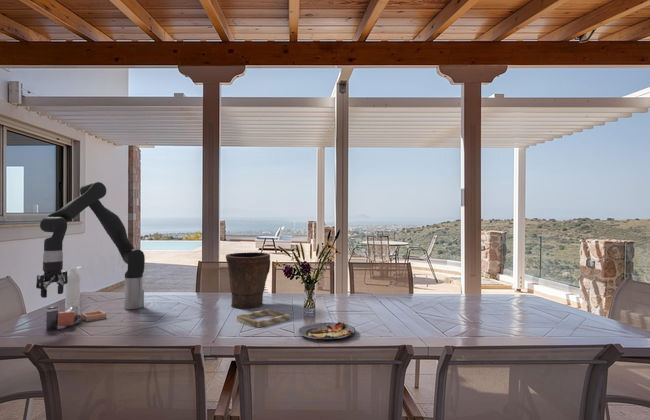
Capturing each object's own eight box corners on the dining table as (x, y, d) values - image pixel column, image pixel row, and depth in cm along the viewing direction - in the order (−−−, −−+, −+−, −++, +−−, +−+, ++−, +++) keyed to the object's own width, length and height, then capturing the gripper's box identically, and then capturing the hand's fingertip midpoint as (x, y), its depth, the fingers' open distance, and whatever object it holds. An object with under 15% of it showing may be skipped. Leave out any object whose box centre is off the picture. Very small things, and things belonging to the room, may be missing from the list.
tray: (100, 315, 204) (100, 310, 204) (106, 318, 197) (106, 313, 197) (80, 318, 197) (80, 313, 197) (86, 321, 191) (86, 316, 191)
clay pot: (282, 302, 234) (282, 252, 234) (248, 312, 209) (248, 256, 210) (251, 297, 247) (251, 250, 248) (216, 306, 223) (216, 254, 223)
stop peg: (56, 327, 181) (56, 305, 181) (59, 329, 178) (59, 307, 178) (45, 329, 178) (45, 307, 178) (47, 331, 175) (47, 308, 175)
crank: (66, 319, 190) (66, 307, 190) (80, 318, 192) (80, 306, 192) (58, 326, 179) (58, 313, 179) (73, 324, 181) (73, 312, 181)
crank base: (79, 319, 195) (79, 317, 195) (84, 322, 189) (84, 320, 189) (58, 322, 189) (58, 320, 189) (63, 326, 183) (63, 324, 183)
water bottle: (73, 317, 199) (73, 268, 199) (61, 317, 200) (62, 268, 200) (85, 313, 207) (86, 266, 208) (74, 312, 208) (75, 266, 209)
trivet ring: (268, 313, 208) (268, 308, 208) (290, 319, 196) (290, 314, 196) (235, 320, 193) (235, 315, 193) (257, 327, 180) (257, 322, 180)
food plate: (352, 326, 183) (352, 318, 183) (358, 342, 160) (358, 334, 160) (299, 328, 182) (299, 320, 182) (297, 344, 159) (297, 336, 159)
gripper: (59, 258, 186) (58, 292, 186) (31, 261, 172) (31, 298, 172) (72, 259, 185) (72, 293, 185) (46, 262, 171) (45, 299, 171)
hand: (52, 295), depth 178 cm, fingers open, 8 cm apart
